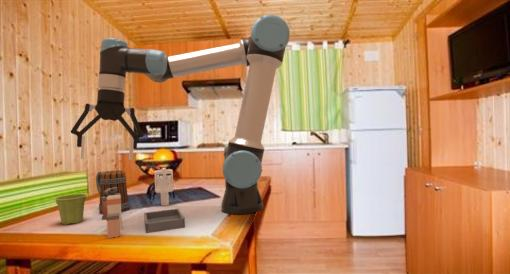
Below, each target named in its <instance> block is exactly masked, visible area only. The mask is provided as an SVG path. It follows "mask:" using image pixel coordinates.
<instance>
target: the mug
mask: <svg viewBox="0 0 510 274" xmlns="http://www.w3.org/2000/svg"><path fill="white" fill-rule="evenodd" d="M95 185H96V190H97V192H98V194H99V203H98V204H99V205H98V210H99V213H101V214H102V215H103V212H102V200H101V197H104V196H105V194H104V191H105V190H107V189H108V188H114V187H117V190H118V191H115V193H120V194H121V213H124V212H127V211H128V210H129V209H130V200H129V195H128V187H127V176H126V172H125V170H123V169H120V170H119V169H118V170H117V169H115V170H106V171H104V170H103V171H98V172H97V173H96V176H95ZM126 210H127V211H126Z"/></svg>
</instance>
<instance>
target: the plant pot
mask: <svg viewBox="0 0 510 274" xmlns="http://www.w3.org/2000/svg"><path fill="white" fill-rule="evenodd" d="M87 195H88V194H87V193H76V194H75V193H74V194H65V195H61V196H57V197H55V198H54V201H55V203H56V205H57V208H58V213H59V216H60V222H61V225H69V224H77V223H80V222H82V221H83V220H84V213H85V212H84V209H85V201H86V198H87Z"/></svg>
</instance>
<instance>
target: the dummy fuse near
mask: <svg viewBox="0 0 510 274" xmlns="http://www.w3.org/2000/svg"><path fill="white" fill-rule="evenodd" d="M119 217H120V213H114V214H107V217H106V220H105V221H106V227H107V228H106V232H107V239H113V237H115V238H119V237H118V236H120V235H121V230H120V221H119ZM120 237H121V236H120Z"/></svg>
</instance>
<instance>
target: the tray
mask: <svg viewBox="0 0 510 274" xmlns="http://www.w3.org/2000/svg"><path fill="white" fill-rule="evenodd" d="M143 215H144V216H143V217H144V226H145V233H146V234H148V233H155V232H162V231H170V230H176V229H183V228H186V220H185V217H184V216H183V213H182V212H181V211H180V209H179V208H173V209H164V210H157V211H155V210H154V211H149V212H147V211H146V212H144V213H143Z"/></svg>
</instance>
